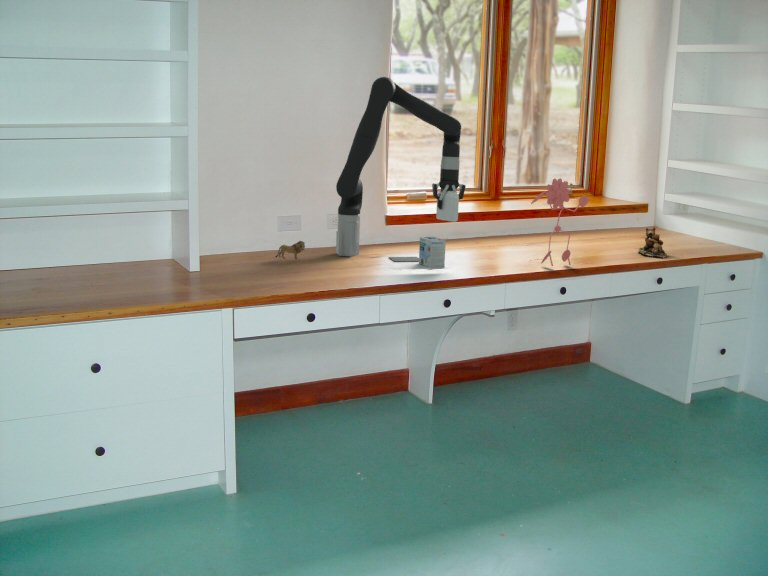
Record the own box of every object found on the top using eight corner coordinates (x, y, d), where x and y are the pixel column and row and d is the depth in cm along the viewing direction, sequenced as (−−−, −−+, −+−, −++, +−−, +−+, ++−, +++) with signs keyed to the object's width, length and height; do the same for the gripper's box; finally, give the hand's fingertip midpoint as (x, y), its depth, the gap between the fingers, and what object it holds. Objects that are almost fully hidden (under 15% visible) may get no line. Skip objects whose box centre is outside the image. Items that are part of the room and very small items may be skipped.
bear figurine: (637, 256, 399) (639, 229, 397) (637, 251, 413) (640, 225, 411) (669, 259, 396) (671, 231, 393) (668, 254, 410) (671, 227, 407)
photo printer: (434, 219, 371) (436, 189, 369) (442, 218, 374) (443, 188, 372) (451, 222, 364) (453, 191, 361) (459, 221, 366) (461, 191, 364)
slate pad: (394, 261, 362) (394, 261, 362) (388, 257, 372) (388, 256, 372) (423, 261, 365) (423, 260, 365) (416, 257, 375) (416, 256, 375)
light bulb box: (418, 263, 361) (419, 236, 359) (433, 262, 364) (434, 236, 362) (429, 268, 352) (431, 240, 349) (445, 267, 354) (446, 240, 352)
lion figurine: (304, 258, 365) (305, 240, 363) (304, 259, 361) (304, 241, 359) (275, 257, 364) (275, 239, 363) (274, 259, 360) (274, 241, 358)
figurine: (587, 264, 372) (594, 179, 365) (537, 267, 360) (543, 180, 353) (564, 258, 385) (570, 176, 378) (514, 261, 373) (520, 176, 366)
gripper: (435, 168, 359) (433, 210, 363) (469, 169, 363) (467, 210, 366) (430, 166, 366) (427, 207, 370) (463, 167, 370) (461, 208, 373)
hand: (447, 209), depth 368 cm, fingers closed on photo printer, 5 cm apart
